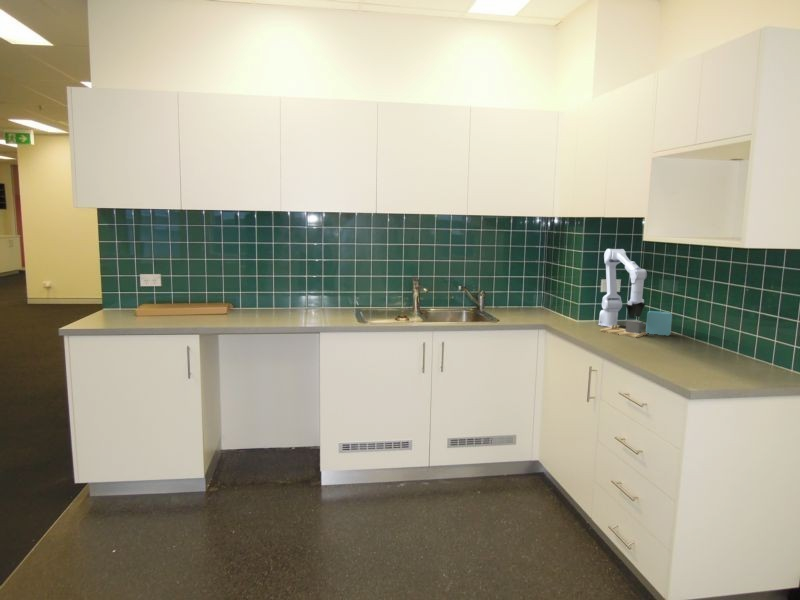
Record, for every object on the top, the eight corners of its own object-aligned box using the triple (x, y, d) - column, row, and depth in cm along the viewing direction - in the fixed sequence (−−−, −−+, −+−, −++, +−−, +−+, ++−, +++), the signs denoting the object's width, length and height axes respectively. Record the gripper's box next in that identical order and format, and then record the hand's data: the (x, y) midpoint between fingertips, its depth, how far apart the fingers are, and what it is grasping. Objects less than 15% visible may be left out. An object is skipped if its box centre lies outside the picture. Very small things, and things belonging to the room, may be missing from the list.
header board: (599, 331, 297) (600, 325, 296) (611, 328, 305) (611, 322, 305) (635, 337, 282) (636, 331, 281) (647, 334, 291) (647, 328, 290)
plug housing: (625, 331, 292) (626, 320, 291) (628, 330, 294) (629, 319, 293) (638, 333, 286) (639, 322, 286) (641, 333, 289) (642, 321, 288)
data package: (670, 334, 292) (672, 312, 291) (670, 336, 288) (672, 313, 286) (645, 332, 297) (647, 310, 295) (645, 333, 293) (647, 311, 291)
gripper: (638, 293, 279) (635, 319, 281) (650, 291, 289) (648, 316, 291) (624, 292, 285) (622, 317, 287) (637, 290, 294) (635, 315, 296)
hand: (634, 317), depth 289 cm, fingers open, 7 cm apart
